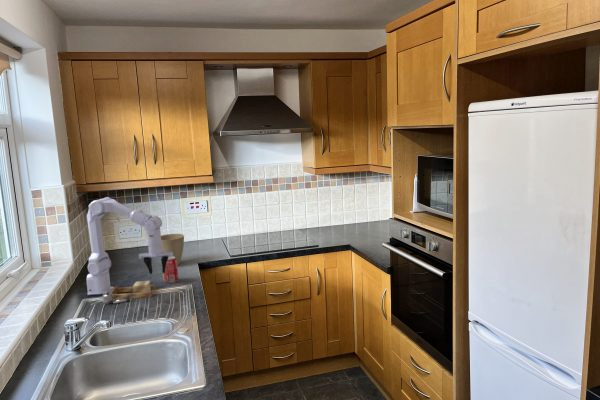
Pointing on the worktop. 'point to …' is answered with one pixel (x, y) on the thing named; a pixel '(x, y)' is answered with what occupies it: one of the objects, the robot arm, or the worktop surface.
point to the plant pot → (173, 245)
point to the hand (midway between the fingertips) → (157, 272)
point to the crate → (141, 287)
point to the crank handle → (122, 300)
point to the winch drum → (108, 298)
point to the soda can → (171, 270)
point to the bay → (131, 295)
